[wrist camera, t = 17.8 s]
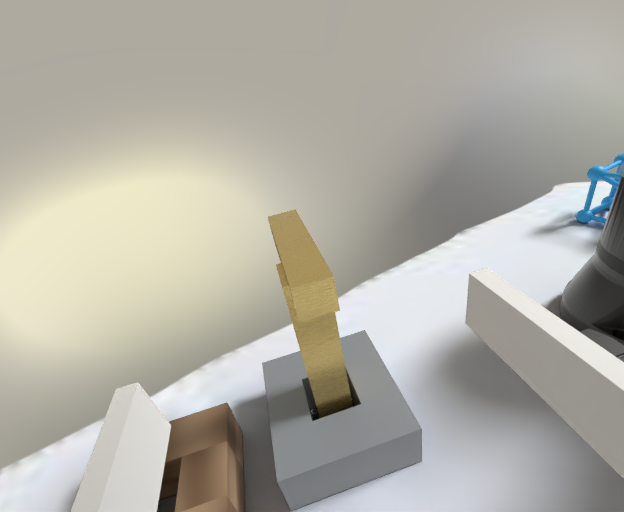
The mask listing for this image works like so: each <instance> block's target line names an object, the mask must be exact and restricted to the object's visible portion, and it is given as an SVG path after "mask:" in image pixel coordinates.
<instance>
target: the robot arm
mask: <svg viewBox="0 0 624 512" xmlns="http://www.w3.org/2000/svg"><path fill="white" fill-rule="evenodd" d="M619 175H621V178H620V181H619V184H618V187H617V190H616V193H615V196H614V199H613V202H612V205H611V208H610V210H609V213H608V216H607V219H606V222H605V225H604V228H603V231H602V234H601V237H600V240H599V244H598V247H597V249H596V252H595V254H594V255H593V256H592V257H591V258H590V260H589V261H588V262H587V263H586V264H585V265H584V266H583V267H582V268H581V270H580V271H579V272H578V273H577V274H576V275H575V277H574V278H573V279H572V280H571V281H570V282H569V283H568V284H567V286H566V287H565V289H564V292H563V295H562V299H561V302H560V313H561V316H562V318H563V320H564V321H563V320H562V319H560V318H559V317H557V316H556V315H554V314H553V313H551V312H550V311H549V310H547V309H546V308H544V307H543V306H541V305H540V304H538V303H537V302H535V301H534V300H533V299H531V298H530V297H528V296H527V295H525V294H524V293H522V292H521V291H520V290H518V289H517V288H515V287H514V286H512V285H511V284H509V283H508V282H506V281H505V280H504V279H502V278H501V277H499V276H498V275H496V274H495V273H493V272H492V271H491V270H489V269H488V268H484V269H481V270H478V271H475V272H472V273H469V284H468V297H467V310H466V324H467V325H468V326H469V327H470V328H471V329H472V330H473V331H474V332H475V333H476V334H477V335H478V336H479V337H480V338H481V339H482V340H483V341H484V342H485V343H486V344H487V345H488V346H489V347H490V348H491V349H492V350H493V351H494V352H495V353H496V354H497V355H498V356H499V357H500V358H501V359H502V360H503V361H504V362H505V363H506V364H507V365H508V366H509V367H510V368H511V369H512V370H513V371H514V372H516V373H517V374H518V375H519V376H520V377H521V378H522V379H523V380H524V381H525V382H526V383H527V384H528V385H529V386H530V387H531V388H532V389H533V390H534V391H535V392H536V393H537V394H538V395H539V396H540V397H541V398H542V399H543V400H544V401H545V402H546V403H547V404H548V405H549V406H550V407H551V408H552V409H553V410H554V411H555V412H556V413H557V414H558V415H559V416H560V417H561V418H562V419H563V420H564V421H565V422H566V423H567V424H568V425H569V426H570V427H571V428H572V429H573V430H574V431H575V432H577V433H578V434H579V435H580V436H581V437H582V438H583V439H584V440H585V441H586V442H587V443H588V444H589V445H590V446H591V447H592V448H593V449H594V450H595V451H596V452H597V453H598V454H599V455H600V456H601V457H602V458H603V459H604V460H605V461H606V462H607V463H608V464H609V465H610V466H611V467H612V468H613V469H614V470H615V471H616V472H617V473H618V474H619V475H620V476H621V477H622V478H623V479H624V162H623V163H622V165H621V166H620V169H619ZM170 430H171V424H170V423H169V422H168V420H167V419H166V418H165V417H164V415H163V414H162V413H161V411H160V410H159V409H158V408H157V406H156V405H155V404H154V402H153V401H152V400H151V399H150V397H149V396H148V395H147V393H146V392H145V391H144V389H143V388H142V387H141V386H140V384H139V383H138V382H137V383H134V384H131V385H128V386H125V387H122V388H118V389H116V391H115V393H114V396H113V399H112V401H111V404H110V406H109V409H108V412H107V414H106V417H105V420H104V423H103V425H102V428H101V431H100V433H99V436H98V439H97V441H96V444H95V447H94V449H93V452H92V455H91V457H90V460H89V463H88V466H87V468H86V471H85V474H84V476H83V479H82V482H81V484H80V487H79V490H78V492H77V495H76V498H75V500H74V503H73V506H72V509H71V511H70V512H157V508H158V502H159V496H160V490H161V484H162V478H163V472H164V466H165V460H166V454H167V448H168V442H169V436H170Z"/></svg>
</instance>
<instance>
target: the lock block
mask: <svg viewBox="0 0 624 512" xmlns="http://www.w3.org/2000/svg"><path fill="white" fill-rule="evenodd" d="M169 423H170V424H171V430H170V436H169V442H168V448H167V454H166V460H165V466H164V472H163V478H162V484H161V490H160V496H159V500H161V499H164V498H167V497H170V496H172V495H175V494H177V498H176V506H175V512H245V494H244V468H243V442H242V430H241V428H240V426H239V424H238V423H237V421H236V419H235V417H234V415H233V413H232V411H231V409H230V407H229V405H228V403H224V404H221V405H218V406H215V407H212V408H209V409H206V410H203V411H200V412H197V413H194V414H191V415H188V416H185V417H182V418H179V419H176V420H173V421H170V422H169Z"/></svg>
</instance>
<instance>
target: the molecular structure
mask: <svg viewBox="0 0 624 512" xmlns="http://www.w3.org/2000/svg"><path fill="white" fill-rule="evenodd" d="M623 162H624V154H620V155H618V156H617V157H616V158H615V159H614V163H612V164H610V165H608V166H606V167H602V166H594V167H592V168H591V169H589V171H588V173H587V176H588V178H589V179H591V180H592V181H591V185H590V188H589V192H588V195H587V199H586V203H585V206H584V210H581V211H579V212H578V213H577V214H576V219H577V220H578V221H579V222H582V223H586V222H589V221H591V220H594V221H598V222H602V223H605V222H606V219H605V218H601V217H596V216H593V214H595V213H597V212H599V211H601V210H603V209H610V208H611V205H612V202H613V199H614V196H615V193H616V190H617V187H618V184H619V181H620V178H621V175H619V169H620V166H621V165H622V163H623ZM616 166H617V167H618V170H617V173H610V172H606V171H607V170H609V169H611V168H613V167H616ZM611 178H615V179H614V180H613V179H611ZM600 179H602V180H604V181H606V182H608V183H609V184H611V185H612V189H611V192H610V195H609V196H608V197H605V198H604V199H603V200H602V202H601V205H600V206H598V207H596V208H594V209H592V210H589V209H590V205H591V202H592V198H593V195H594V191H595V188H596V184H597V181H598V180H600Z"/></svg>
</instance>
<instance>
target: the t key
mask: <svg viewBox="0 0 624 512" xmlns="http://www.w3.org/2000/svg"><path fill="white" fill-rule="evenodd" d="M268 220H269V223H270V227H271V230H272V234H273V238H274V241H275V245H276V248H277V251H278V254H279V258H280V261H281V263H280V264H277V265H276V266H277V270H278V273H279V277H280V281H281V284H282V288H283V291H284V295H285V298H286V302H287V305H288V309H289V312H290V316H291V319H292V323H293V326H294V330H295V333H296V337H297V340H298V344H299V347H300V351H301V354H302V357H303V361H304V364H305V368H306V371H307V375H308V378H309V382H310V385H311V389H312V392H313V396H314V399H315V403H316V406H317V410H318V413H319V417H320V418H323V417H326V416H329V415H331V414H334V413H337V412H340V411H343V410H346V409H349V408H351V407H353V405H352V399H351V394H350V389H349V384H348V379H347V373H346V368H345V363H344V358H343V352H342V347H341V342H340V337H339V331H338V326H337V321H336V316H335V312H336V311H339V310H340V309H339V303H338V298H337V293H336V287H335V281H334V276H333V274H332V273H331V271H330V269H329V267H328V266H327V264H326V262H325V261H324V259H323V257H322V255H321V254H320V252H319V250H318V248H317V246H316V245H315V243H314V241H313V239H312V238H311V236H310V234H309V233H308V231H307V229H306V227H305V226H304V224H303V222H302V220H301V219H300V217H299V215H298V213H297V212H296V210H292V211H289V212H285V213H281V214H277V215H274V216H269V217H268Z"/></svg>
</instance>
